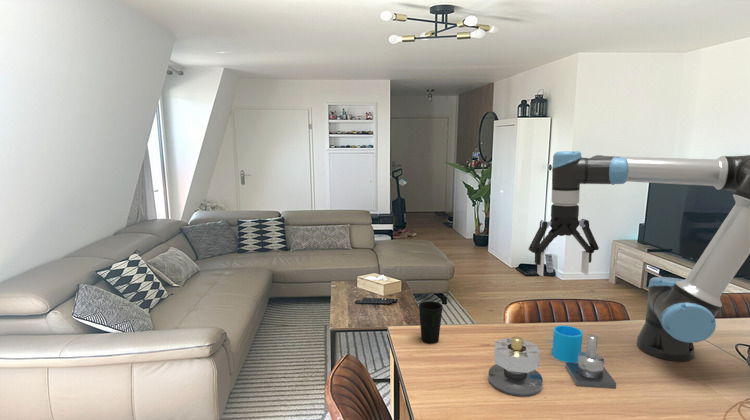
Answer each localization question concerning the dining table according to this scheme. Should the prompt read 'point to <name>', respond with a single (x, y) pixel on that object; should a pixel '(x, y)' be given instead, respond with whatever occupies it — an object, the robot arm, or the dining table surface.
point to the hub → (515, 377)
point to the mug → (567, 343)
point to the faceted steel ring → (517, 356)
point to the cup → (430, 321)
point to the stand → (590, 368)
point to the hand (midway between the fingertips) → (562, 274)
